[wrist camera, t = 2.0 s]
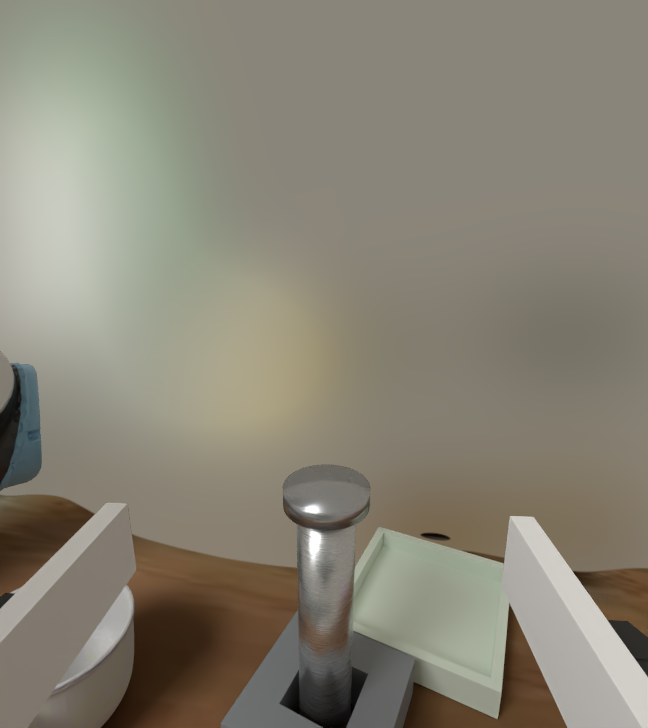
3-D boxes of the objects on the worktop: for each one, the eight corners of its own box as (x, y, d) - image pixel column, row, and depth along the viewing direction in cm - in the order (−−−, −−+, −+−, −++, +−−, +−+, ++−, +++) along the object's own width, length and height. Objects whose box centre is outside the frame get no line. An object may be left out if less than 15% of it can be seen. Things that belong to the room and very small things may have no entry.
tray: (324, 641, 36) (324, 618, 36) (378, 545, 48) (379, 526, 48) (497, 719, 30) (501, 692, 30) (509, 586, 42) (512, 566, 42)
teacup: (41, 643, 36) (24, 564, 34) (166, 645, 36) (156, 566, 34) (-131, 874, 23) (-175, 767, 21) (67, 878, 22) (42, 771, 20)
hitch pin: (274, 744, 29) (265, 496, 24) (310, 678, 33) (308, 458, 28) (343, 786, 26) (349, 521, 22) (372, 709, 31) (382, 475, 26)
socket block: (223, 763, 28) (220, 723, 27) (299, 641, 36) (298, 608, 35) (365, 857, 23) (367, 813, 22) (412, 694, 32) (415, 658, 31)
